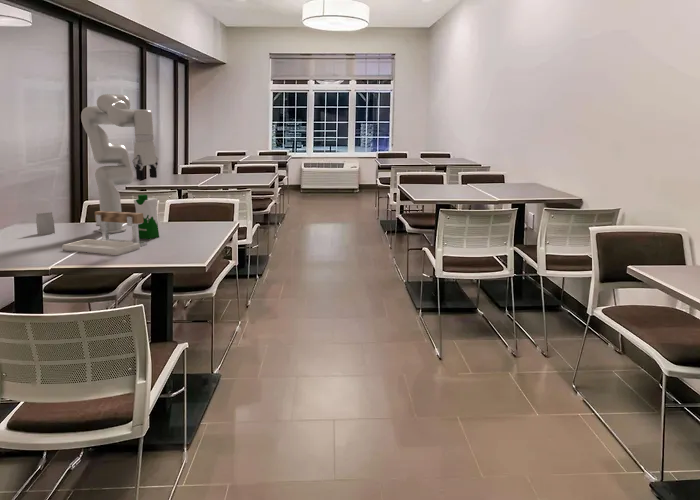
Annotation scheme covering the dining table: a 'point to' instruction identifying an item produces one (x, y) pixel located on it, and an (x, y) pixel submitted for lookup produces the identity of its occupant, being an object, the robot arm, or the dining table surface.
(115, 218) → the walnut rail
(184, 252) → the dining table surface
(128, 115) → the robot arm
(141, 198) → the milk carton
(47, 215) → the grey block
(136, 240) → the steel stand
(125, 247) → the off-white tray
